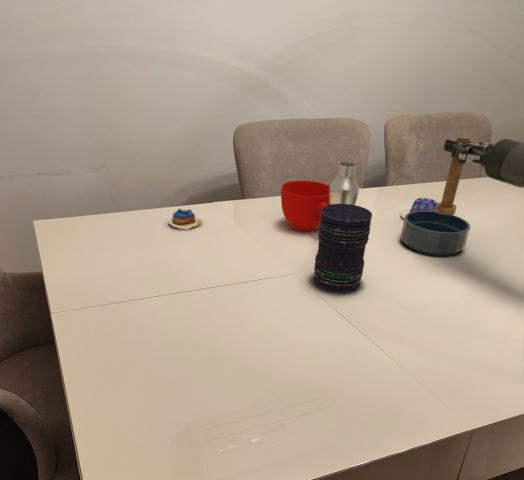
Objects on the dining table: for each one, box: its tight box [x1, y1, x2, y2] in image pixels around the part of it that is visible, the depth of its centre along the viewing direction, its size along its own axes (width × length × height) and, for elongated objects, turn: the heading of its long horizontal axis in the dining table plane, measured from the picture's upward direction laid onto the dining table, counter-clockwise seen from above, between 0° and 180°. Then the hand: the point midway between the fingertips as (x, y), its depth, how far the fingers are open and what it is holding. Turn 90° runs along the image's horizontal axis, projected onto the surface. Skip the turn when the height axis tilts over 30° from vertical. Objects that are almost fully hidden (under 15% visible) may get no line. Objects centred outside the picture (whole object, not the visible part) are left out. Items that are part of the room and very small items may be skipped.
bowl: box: [399, 211, 471, 257], centre depth 122 cm, size 15×15×6 cm
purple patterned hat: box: [400, 197, 438, 219], centre depth 137 cm, size 12×12×5 cm
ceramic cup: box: [280, 180, 330, 232], centre depth 125 cm, size 13×17×10 cm
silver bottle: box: [329, 161, 360, 205], centre depth 111 cm, size 6×7×20 cm
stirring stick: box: [435, 135, 471, 215], centre depth 109 cm, size 4×4×16 cm
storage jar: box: [313, 204, 373, 294], centre depth 100 cm, size 10×10×15 cm
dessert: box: [168, 208, 200, 230], centre depth 127 cm, size 8×7×6 cm
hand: (451, 144), depth 108 cm, fingers closed on stirring stick, 2 cm apart
